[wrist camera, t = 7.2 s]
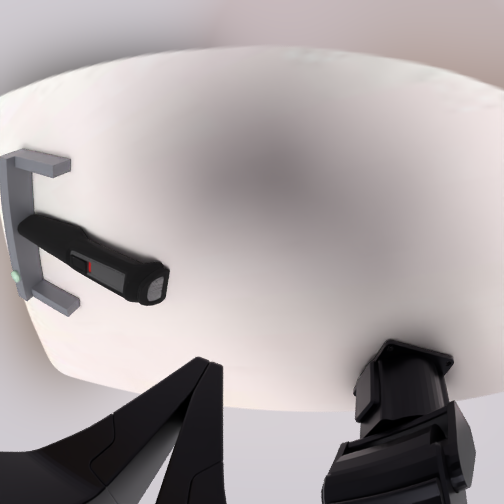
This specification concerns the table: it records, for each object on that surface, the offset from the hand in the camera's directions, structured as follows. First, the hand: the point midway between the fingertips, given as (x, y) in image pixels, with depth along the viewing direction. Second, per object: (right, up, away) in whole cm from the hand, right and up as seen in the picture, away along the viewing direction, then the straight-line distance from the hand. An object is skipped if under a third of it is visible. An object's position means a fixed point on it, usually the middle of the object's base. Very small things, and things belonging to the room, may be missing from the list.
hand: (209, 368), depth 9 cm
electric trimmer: (-12, +4, +16) cm, 20 cm away
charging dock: (-18, +5, +16) cm, 25 cm away
